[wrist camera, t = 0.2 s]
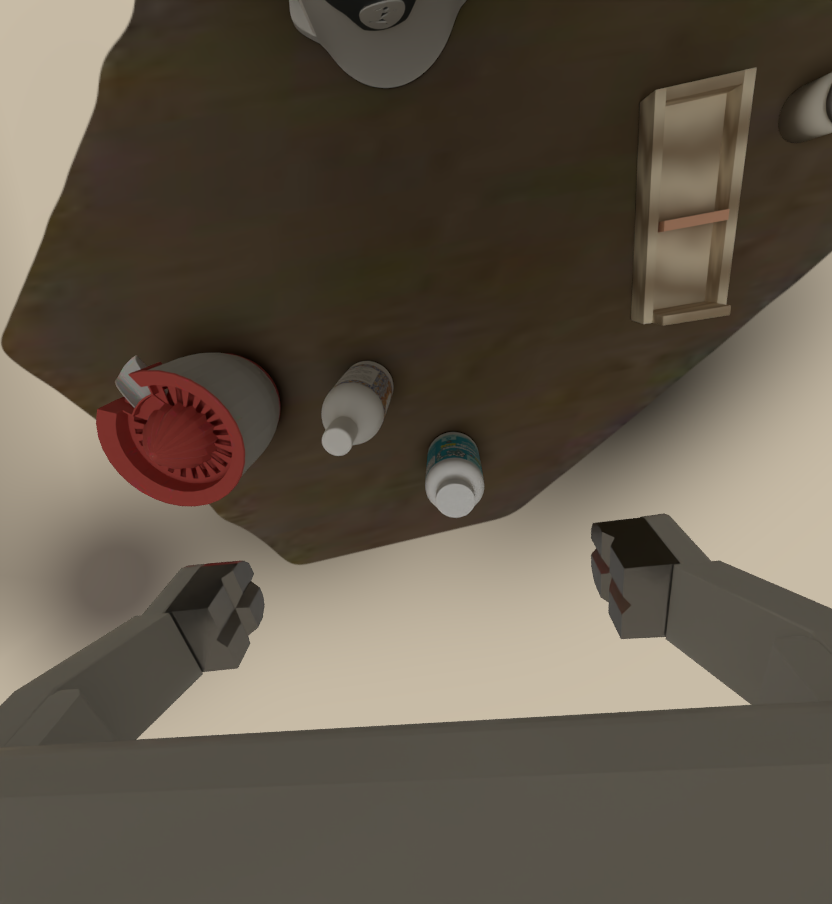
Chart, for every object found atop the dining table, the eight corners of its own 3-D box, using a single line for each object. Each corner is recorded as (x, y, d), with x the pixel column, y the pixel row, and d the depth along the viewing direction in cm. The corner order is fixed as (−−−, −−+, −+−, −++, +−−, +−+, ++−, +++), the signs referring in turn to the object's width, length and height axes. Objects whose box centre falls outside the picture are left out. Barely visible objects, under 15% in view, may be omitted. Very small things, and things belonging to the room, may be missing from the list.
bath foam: (381, 416, 59) (356, 486, 41) (336, 395, 58) (290, 456, 40) (402, 374, 56) (385, 428, 38) (355, 350, 55) (315, 394, 37)
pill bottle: (486, 440, 60) (498, 486, 48) (466, 481, 63) (472, 535, 51) (438, 422, 59) (437, 464, 47) (420, 465, 62) (415, 516, 50)
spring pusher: (651, 223, 46) (664, 221, 44) (712, 211, 46) (729, 208, 43) (650, 233, 47) (663, 231, 44) (711, 222, 46) (728, 219, 43)
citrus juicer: (222, 304, 54) (112, 326, 36) (317, 404, 59) (263, 467, 41) (153, 379, 59) (25, 432, 40) (247, 465, 64) (170, 547, 45)
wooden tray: (639, 102, 43) (668, 79, 38) (732, 81, 42) (776, 55, 37) (631, 320, 52) (653, 327, 47) (707, 307, 51) (739, 313, 45)
